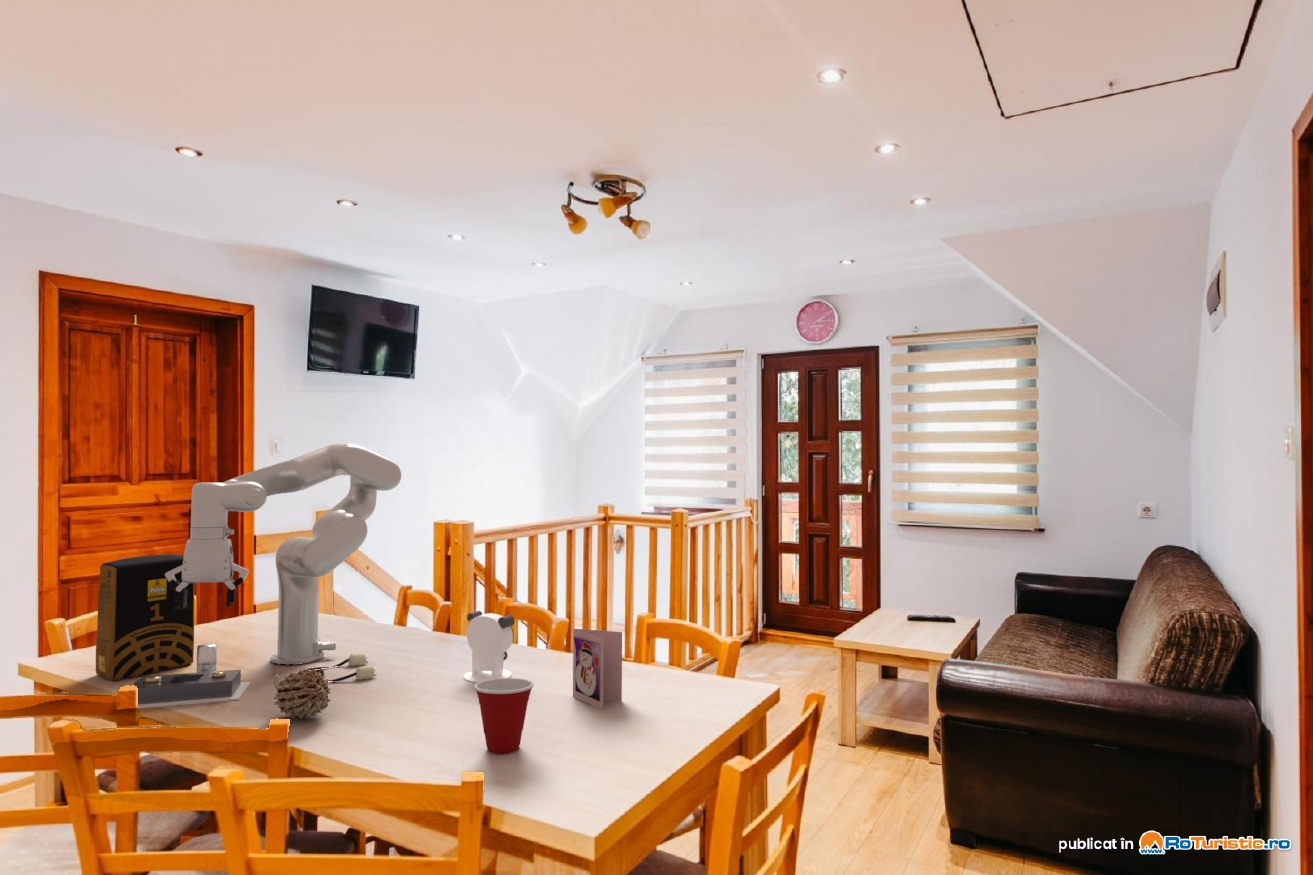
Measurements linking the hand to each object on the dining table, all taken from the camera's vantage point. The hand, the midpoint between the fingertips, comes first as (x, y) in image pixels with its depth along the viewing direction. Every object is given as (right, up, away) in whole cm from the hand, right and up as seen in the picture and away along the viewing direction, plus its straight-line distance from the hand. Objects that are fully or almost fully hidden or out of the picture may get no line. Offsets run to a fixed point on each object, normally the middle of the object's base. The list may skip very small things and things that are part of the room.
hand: (206, 606), depth 178 cm
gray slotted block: (+3, -17, -13) cm, 21 cm away
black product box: (-19, -17, +7) cm, 27 cm away
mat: (+3, -17, -13) cm, 21 cm away
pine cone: (+32, -17, -23) cm, 43 cm away
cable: (+30, -18, +4) cm, 35 cm away
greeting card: (+94, -18, -13) cm, 97 cm away
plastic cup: (+79, -17, -41) cm, 90 cm away
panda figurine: (+66, -18, +4) cm, 69 cm away
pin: (0, -17, 0) cm, 17 cm away
